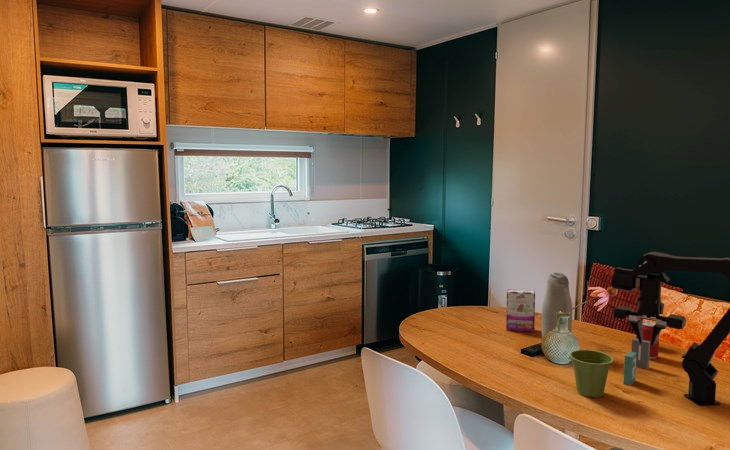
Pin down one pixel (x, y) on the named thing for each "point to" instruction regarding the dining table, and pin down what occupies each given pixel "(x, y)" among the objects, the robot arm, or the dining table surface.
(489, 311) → the dining table surface
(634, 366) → the tile
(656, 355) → the beverage can
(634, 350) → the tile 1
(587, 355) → the plant pot
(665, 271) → the robot arm
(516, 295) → the candy bar box
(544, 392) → the dining table surface
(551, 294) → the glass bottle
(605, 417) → the dining table surface
